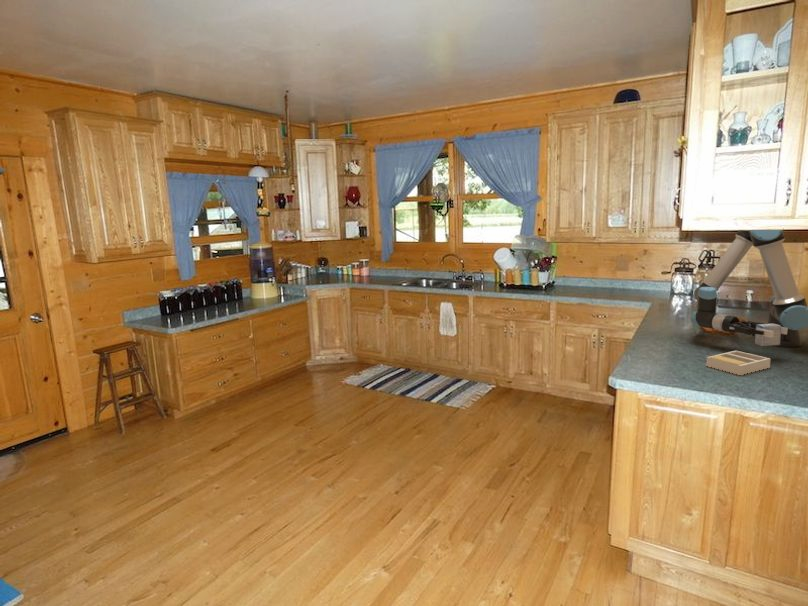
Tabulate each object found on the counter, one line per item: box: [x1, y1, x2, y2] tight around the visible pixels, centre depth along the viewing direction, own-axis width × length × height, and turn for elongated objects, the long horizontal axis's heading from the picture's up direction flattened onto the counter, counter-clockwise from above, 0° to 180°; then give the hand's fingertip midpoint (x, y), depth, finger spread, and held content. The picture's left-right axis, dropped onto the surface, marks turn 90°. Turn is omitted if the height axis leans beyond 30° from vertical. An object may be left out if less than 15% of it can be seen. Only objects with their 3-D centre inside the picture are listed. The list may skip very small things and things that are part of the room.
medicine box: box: [754, 323, 781, 347], centre depth 210 cm, size 8×4×9 cm, turn 92°
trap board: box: [705, 350, 771, 376], centre depth 204 cm, size 19×14×4 cm
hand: (780, 332), depth 206 cm, fingers closed on medicine box, 9 cm apart
